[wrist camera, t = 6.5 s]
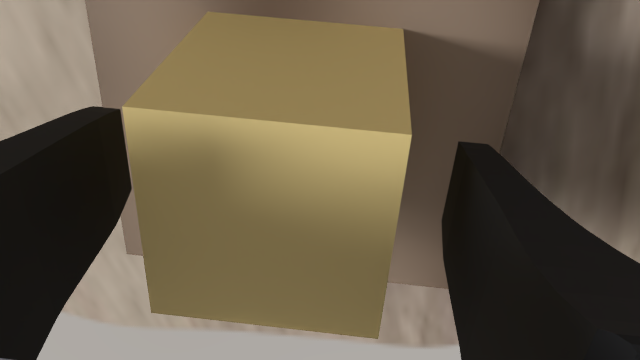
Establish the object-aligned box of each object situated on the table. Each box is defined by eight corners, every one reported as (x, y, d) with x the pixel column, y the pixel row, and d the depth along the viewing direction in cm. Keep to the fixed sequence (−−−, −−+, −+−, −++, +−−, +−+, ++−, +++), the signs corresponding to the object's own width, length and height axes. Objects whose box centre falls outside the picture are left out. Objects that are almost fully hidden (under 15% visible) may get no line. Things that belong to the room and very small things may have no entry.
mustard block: (403, 28, 13) (411, 134, 8) (379, 192, 15) (377, 338, 11) (208, 11, 13) (121, 106, 9) (215, 176, 15) (151, 313, 11)
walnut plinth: (533, -101, 13) (562, -86, 11) (454, 237, 19) (463, 290, 17) (114, -132, 14) (64, -123, 12) (155, 205, 19) (126, 253, 17)
